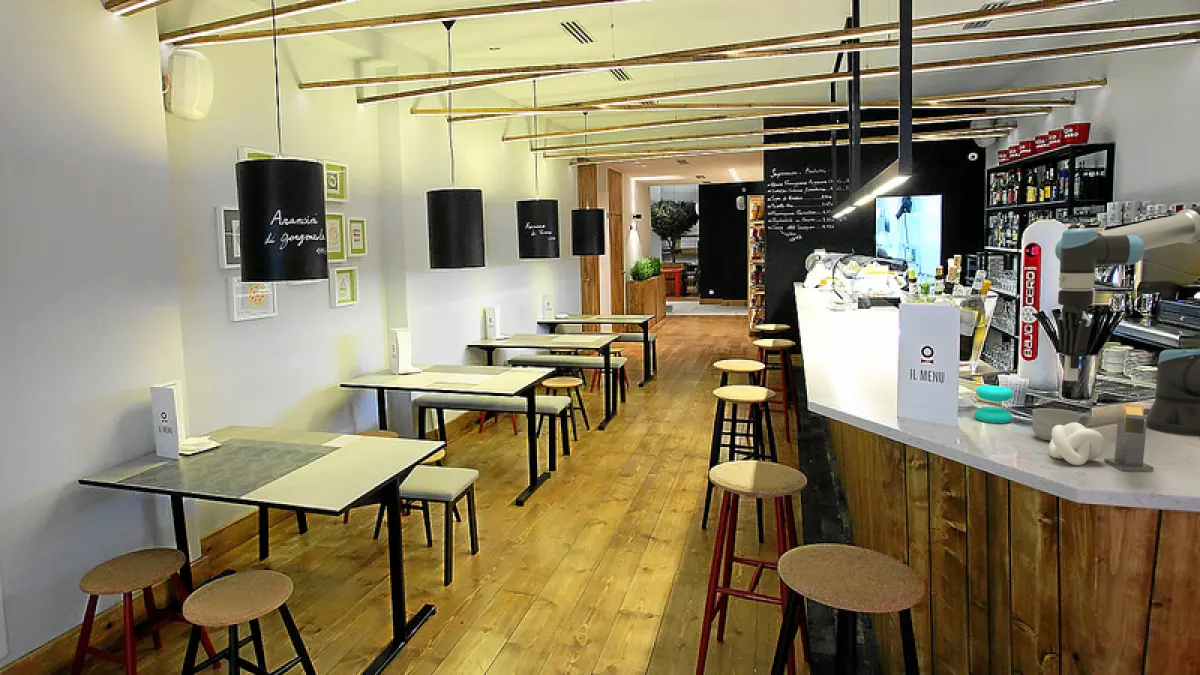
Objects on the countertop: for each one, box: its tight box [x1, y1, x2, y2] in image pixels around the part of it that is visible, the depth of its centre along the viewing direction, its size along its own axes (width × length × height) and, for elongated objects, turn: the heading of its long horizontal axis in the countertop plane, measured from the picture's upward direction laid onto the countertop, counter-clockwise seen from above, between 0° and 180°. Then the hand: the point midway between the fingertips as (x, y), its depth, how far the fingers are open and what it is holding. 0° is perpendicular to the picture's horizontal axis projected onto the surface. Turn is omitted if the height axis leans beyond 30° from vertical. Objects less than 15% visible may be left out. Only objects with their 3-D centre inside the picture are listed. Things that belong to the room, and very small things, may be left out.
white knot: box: [1048, 422, 1106, 466], centre depth 179 cm, size 11×12×9 cm
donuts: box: [974, 385, 1014, 424], centre depth 221 cm, size 10×10×10 cm
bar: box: [1121, 403, 1145, 434], centre depth 167 cm, size 18×4×3 cm, turn 145°
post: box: [1103, 416, 1155, 472], centre depth 174 cm, size 7×7×12 cm
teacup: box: [1032, 408, 1093, 442], centre depth 198 cm, size 14×11×8 cm
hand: (1070, 380), depth 190 cm, fingers closed
